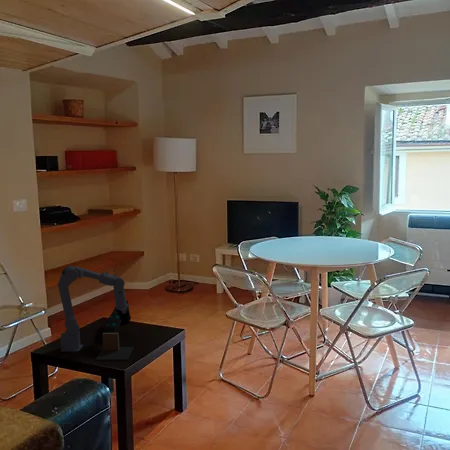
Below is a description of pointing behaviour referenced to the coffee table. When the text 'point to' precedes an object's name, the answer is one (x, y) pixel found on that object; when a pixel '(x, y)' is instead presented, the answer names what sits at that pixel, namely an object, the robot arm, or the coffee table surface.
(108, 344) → the tile
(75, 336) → the robot arm
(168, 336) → the coffee table surface
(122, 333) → the coffee table surface
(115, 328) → the gun
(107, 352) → the mat
